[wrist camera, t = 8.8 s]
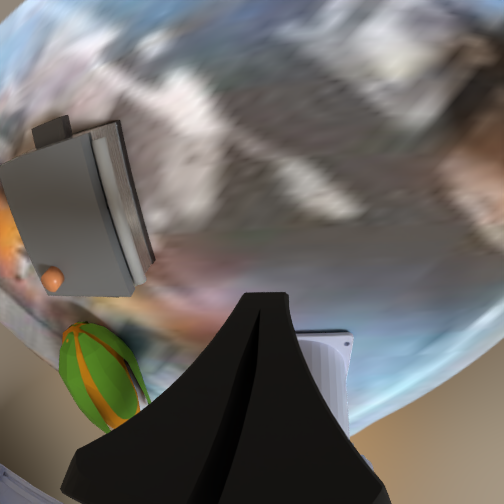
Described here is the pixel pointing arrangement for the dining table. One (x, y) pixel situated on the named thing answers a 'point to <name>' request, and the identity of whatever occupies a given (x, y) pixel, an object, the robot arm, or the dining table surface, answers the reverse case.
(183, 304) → the dining table surface
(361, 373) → the dining table surface
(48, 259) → the lid
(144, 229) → the cooker
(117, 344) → the corn
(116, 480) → the robot arm
